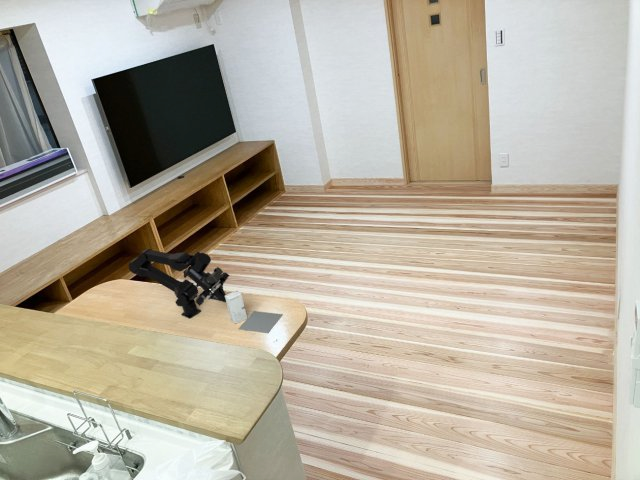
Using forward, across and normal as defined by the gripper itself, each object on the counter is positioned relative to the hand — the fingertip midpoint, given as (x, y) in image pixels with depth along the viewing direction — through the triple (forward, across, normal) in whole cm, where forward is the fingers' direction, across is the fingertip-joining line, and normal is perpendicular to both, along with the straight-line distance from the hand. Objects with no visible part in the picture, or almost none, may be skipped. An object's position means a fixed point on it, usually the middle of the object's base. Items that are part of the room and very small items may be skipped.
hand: (228, 301), depth 215 cm
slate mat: (+16, 0, -4) cm, 16 cm away
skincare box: (+8, 0, +4) cm, 9 cm away
